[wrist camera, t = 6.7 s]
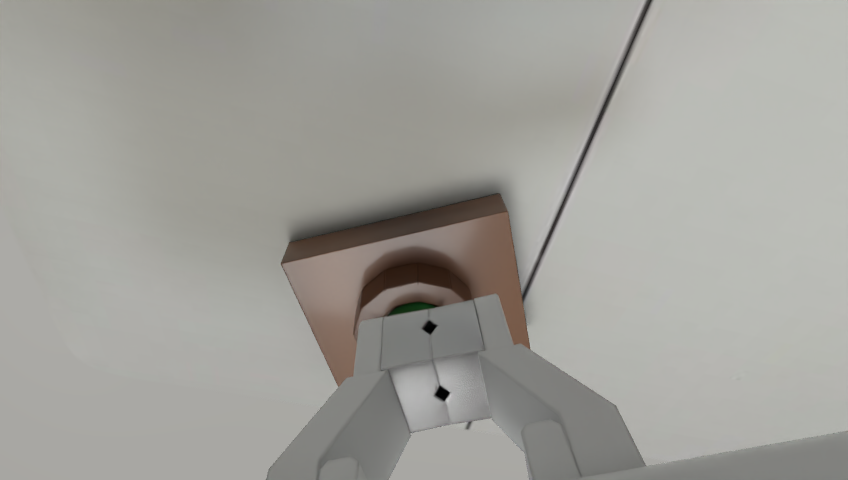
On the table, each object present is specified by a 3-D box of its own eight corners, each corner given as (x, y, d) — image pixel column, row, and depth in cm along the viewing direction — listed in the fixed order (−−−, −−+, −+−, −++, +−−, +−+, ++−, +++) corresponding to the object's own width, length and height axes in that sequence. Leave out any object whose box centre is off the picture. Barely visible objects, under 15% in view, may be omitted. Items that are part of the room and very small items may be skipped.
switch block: (344, 368, 31) (338, 417, 28) (288, 242, 26) (272, 283, 23) (522, 330, 30) (539, 376, 27) (499, 192, 25) (516, 228, 22)
